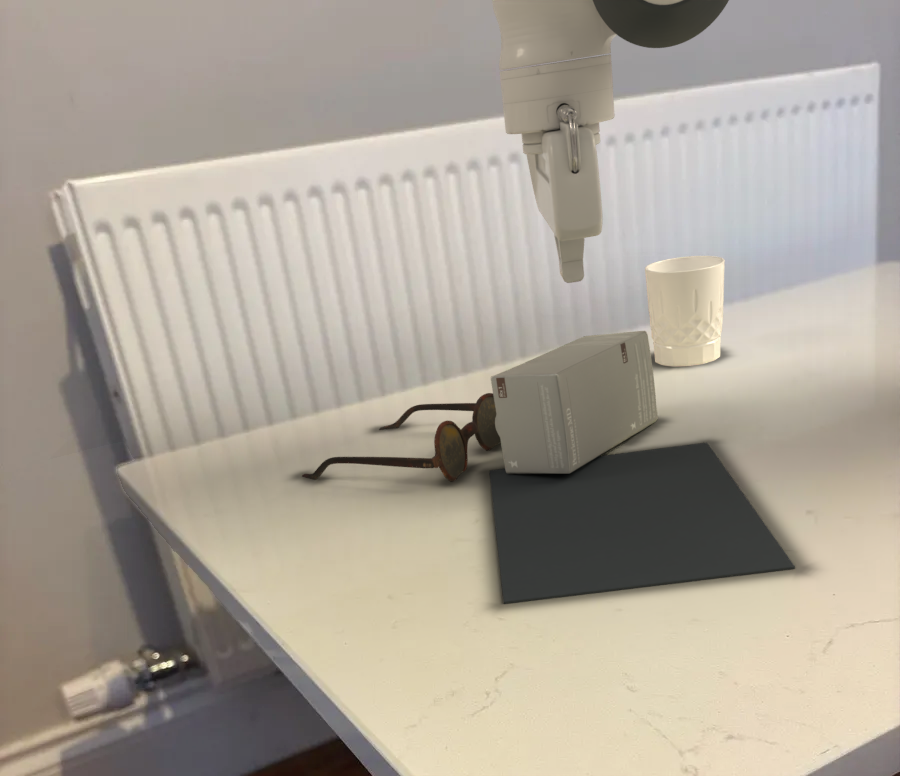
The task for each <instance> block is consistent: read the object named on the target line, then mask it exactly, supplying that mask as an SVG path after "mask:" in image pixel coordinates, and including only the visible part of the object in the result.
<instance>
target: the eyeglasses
mask: <svg viewBox="0 0 900 776" xmlns="http://www.w3.org/2000/svg"><path fill="white" fill-rule="evenodd" d="M419 411H457V412H458V411H459V412H472V416H471V417H472V418H471V419H472V420H471V421H470V422H468V423H466V424H465V425H464V426H463V427H462V428H460V427H459V426H458V425H457V423H455V422H454V421H452V420H444V421H442V422H441V423H440V424H439V425H438V426H437V428H436V431H435V434H434V439H433V440H434V441H433V444H434V455H433V456H432V457H430V458H429V457H426V458H425V457H400V456H399V457H398V456H332V457H329V458H327V459H325V460H323V462H322V463H320V465H318V467H317V468H316V469H315V470H314V471H313V472H312V473H302V475H301V477H303V478H307V479H310V480H317V479H319V478H320V477H321V476H322V474H323V473H324V472H325V471H326V469H328V467H329V466H331V465H334V464H349V465H350V464H353V465H368V466H370V465H371V466H382V467H383V466H385V467H396V468H410V469H412V468H413V469H438V468H439V470H440V472H441V473H442V475H443V476H444V477H445V479H446V480H448V481H449V482H455V481H456V480H457V479H458V477H459V476H460V475H461V474H462V473H464V472H465V471H466V470H467V469H468V460H469V459H468V457H469V456H468V454H469V453H468V445H469V444H468V443H469V440H470V439H471V438H472V437H473V436H475V440H476V441H477V443H478V445H479V446H480V447H481V448H482V449H484V450H485V451H491V450H492V449H493V448H495V447H496V446H498V445H499V444H501V440H500V436H499V435H498V433H497V430H496V427H495V418H496V414H497V413H496V408H495V402H494V396H493V392H487V393H484V394H482V395H481V396H480V397H479V398H478V399H476V402H457V403H456V402H455V403H454V402H452V403H451V402H449V403H422V404H416V405H413V406H410V407H409V408H408V409H407V410H406V411H404V412H403V414H402V415H400V417H399V418H398V419H397V420H396V421H395V422H393V423H391V424H387V425H384V426H381V427H379V428H378V430H379V431H386V430H393V429H398V428H400V427H401V426H402V425H403V424H404V423H405V422H406V421H407V419H409V417H410V416H411V415H412V414H413V413H416V412H419Z"/></svg>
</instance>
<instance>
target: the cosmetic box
mask: <svg viewBox="0 0 900 776" xmlns="http://www.w3.org/2000/svg"><path fill="white" fill-rule="evenodd" d="M650 348H651V346H650V341H649V334H648V332H647V331H646V330H635V331H625V332H615V333H603V334H593V335H592V334H591V335H585V336H584V335H583V336H582V337H579V338H577V339H575V340H573V341H570V342H568V343H566V344H564V345H561V346H559V347H557V348H553V349H552V350H550V351H547V352H545V353H543V354H541V355H539V356H536V357H534V358H532V359H530V360H527V361H525V362H523V363H520V364H519V365H516V366H513V367H511V368H509V369H506V370H504V371H501V372H500V373H497V374H495V375H492V376H490V384H491V389H492V393H493V396H494V402H495V408H496V413H497V414H496V418H495V427H496V430H497V433H498V435H499V436H500V440H501V443H500V446H501V452H502V457H503V464H504V468H505V470H506V473H507V474H570V473H571V472H573V471H575V470H576V469H578V468H580V467H581V466H583V465H585V464H586V463H588V462H590V461H591V460H593V459H595V458H596V457H598V456H602V455H603V454H605V453H606V452H608V451H609V450H611V449H613V448H615V447H616V446H618V445H619V444H622V443H623V442H624V441H626V440H628V439H629V438H631V437H633V436H634V435H637V434H638V433H640V432H641V431H643V430H645V429H646V428H648V427H649V426H651V425H653V424H654V423H655V422H657V421H658V418H659V415H658V407H657V398H656V397H657V395H656V386H655V377H654V376H655V375H654V369H653V361H652V353H651V349H650Z"/></svg>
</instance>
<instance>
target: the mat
mask: <svg viewBox="0 0 900 776" xmlns="http://www.w3.org/2000/svg"><path fill="white" fill-rule="evenodd" d="M489 479H490V480H489V482H490V490H491V497H492V509H493V517H494V526H495V535H496V544H497V545H496V546H497V554H498V563H499V574H500V581H501V583H500V584H501V590H502V599H503V600H502V602H503V605H509V604H517V603H526V602H534V601H535V602H536V601H542V600H550V599H552V600H553V599H558V598H568V597H575V596H584V595H592V594H600V593H608V592H617V591H624V590H625V591H626V590H634V589H641V588H642V589H643V588H649V587H650V588H651V587H659V586H666V585H674V584H675V585H676V584H681V583H690V582H701V581H706V580H707V581H708V580H717V579H724V578H725V579H726V578H732V577H733V578H734V577H741V576H749V575H756V574H765V573H773V572H782V571H790V570H795V569H796V566H795V565H794V563H793V562H792V560H791V559H790V557H789V556H788V555H787V553H786V551H785V550H784V549H783V547H782V546H781V544H780V543H779V542H778V541H777V539H776V538H775V536H774V535H773V533H772V532H771V530H770V529H769V528H768V526H767V525H766V524H765V522H764V521H763V519H762V518H761V517H760V515H759V514H758V513H757V511H756V510H755V508H754V507H753V506H752V504H751V503H750V501H749V500H748V499H747V497H746V496H745V494H744V493H743V491H742V490H741V489H740V487H739V485H738V484H737V483H736V481H735V480H734V478H733V477H732V476H731V475H730V473H729V472H728V469H727V468H725V466H724V464H723V463H722V462H721V460H720V458H718V455H716V453H715V451H714V450H713V449H712V448H711V446H710V445H709V443H708V442H700V443H691V444H683V445H675V446H667V447H661V448H651V449H645V450H636V451H628V452H622V453H613V454H605V455H600V456H598V457H596V458H595V459H593V460H591V461H590V462H588V463H586V464H585V465H583V466H581V467H580V468H578V469H576V470H575V471H573V472H571V473H570V474H507V473H506V470H505V467H504V468H499V469H497V468H496V469H490V470H489Z"/></svg>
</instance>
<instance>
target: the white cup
mask: <svg viewBox="0 0 900 776" xmlns="http://www.w3.org/2000/svg"><path fill="white" fill-rule="evenodd" d="M725 263H726V260H725V258H723V257H720V256H716V255H689V256H681V257H673V258H667V259H662V260H658V261H655V262H652V263H649V264H647V265H646V266H645V267H644V274H645V284H646V295H647V296H646V297H647V307H648V308H647V310H648V314H649V327H650V332H651V339H652V344H653V352H654V363H656V364H659V365H660V366H666V367H693V366H698V365H704V364H707V363H711V362H714V361H716V360H717V359H718V358H720V357H721V339H722V338H721V335H722V332H723V320H724V298H725V297H724V295H725V294H724V293H725V266H726V264H725Z"/></svg>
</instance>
